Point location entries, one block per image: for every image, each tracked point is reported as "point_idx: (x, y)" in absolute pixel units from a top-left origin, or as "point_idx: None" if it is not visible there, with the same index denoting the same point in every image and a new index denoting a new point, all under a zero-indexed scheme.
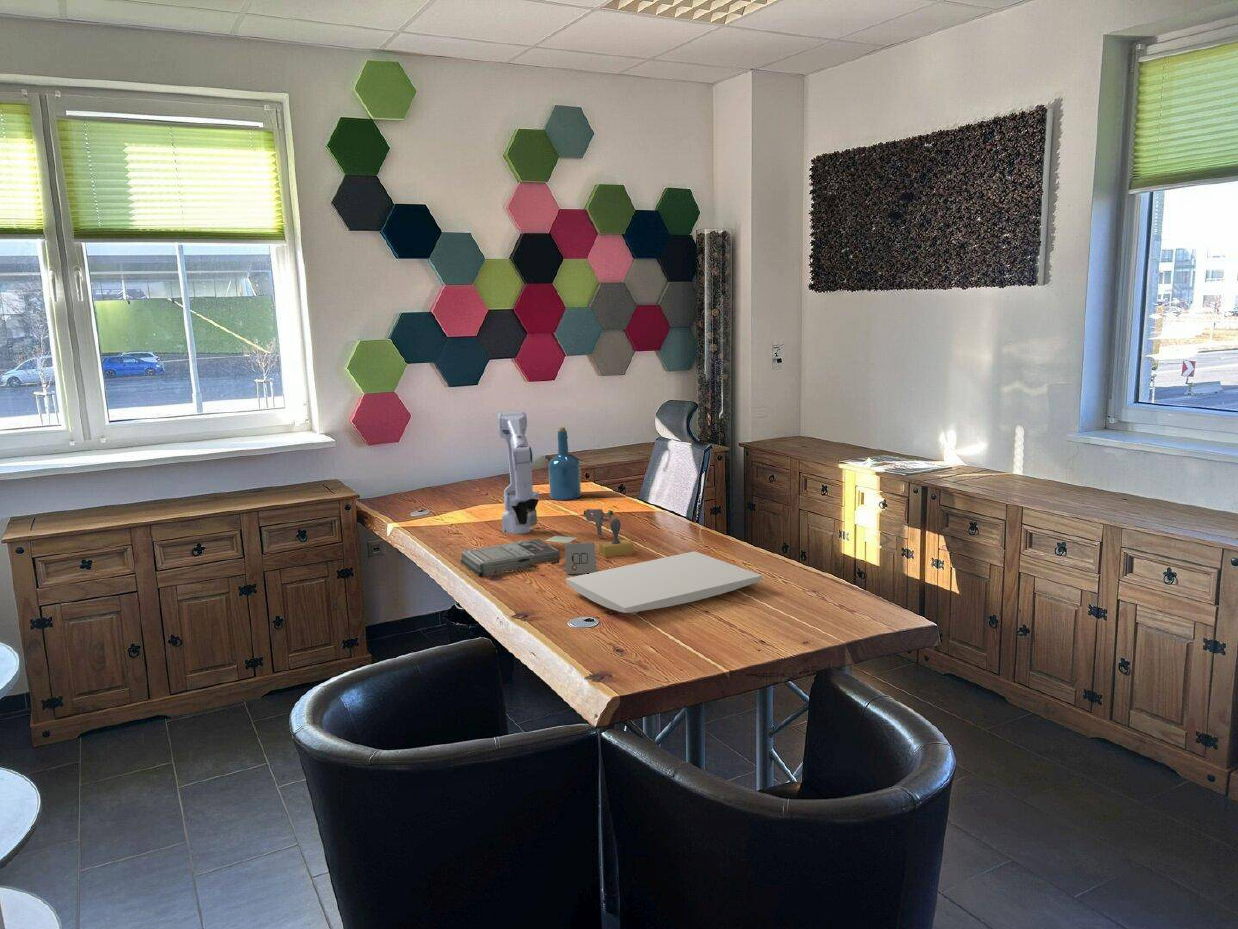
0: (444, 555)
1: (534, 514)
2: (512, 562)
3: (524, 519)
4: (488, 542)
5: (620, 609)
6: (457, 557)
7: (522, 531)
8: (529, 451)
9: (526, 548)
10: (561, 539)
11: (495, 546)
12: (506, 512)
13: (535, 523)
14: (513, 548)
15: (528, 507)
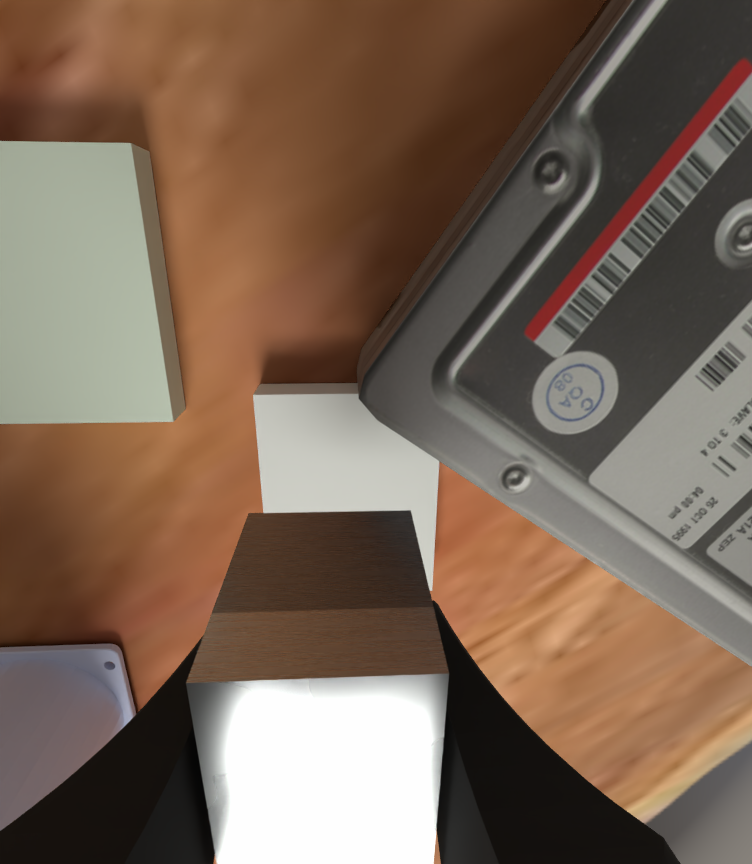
0: (622, 798)
1: (281, 616)
2: None
3: (458, 642)
4: None
5: None
6: (650, 730)
7: (70, 702)
8: None
9: (732, 296)
10: (49, 287)
11: (690, 590)
12: None
13: (285, 522)
14: (741, 419)
15: (190, 854)
